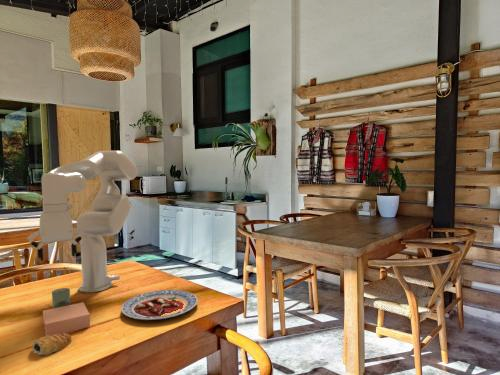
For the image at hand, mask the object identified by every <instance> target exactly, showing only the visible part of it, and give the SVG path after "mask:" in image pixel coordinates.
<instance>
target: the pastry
mask: <svg viewBox="0 0 500 375" xmlns="http://www.w3.org/2000/svg"><path fill="white" fill-rule="evenodd" d="M71 342H72V336H71V335H70V333H68V332H66V333H62V334H53V335H45V336H40V337H39V338H38V339H35V340H34V342H33V344H32V347H31V349H32V350H33V353H34V354H37V355H39V356H48V355H51V354H52V353H56V352H58V351H60V350H61V349H64V348H65V347H66V346H68V345H70V343H71Z"/></svg>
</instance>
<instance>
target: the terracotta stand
mask: <svg viewBox="0 0 500 375" xmlns="http://www.w3.org/2000/svg"><path fill="white" fill-rule="evenodd" d="M90 315H91V314H90V312H89V310H88V309H87V306H86V305H85V302H84V301H83V302H82V301H81V302H79V303H73V304H71V305H68V306H63V307H58V308H53V307H52V308H50V309H45V310H42V319H43V322H42V323H43V327H44V332H45V336H46V335H53V334H62V333H71V332H74V331H77V330H82V329H85V328H87V329H88V328H90V327H91V321H90V320H91V318H90Z"/></svg>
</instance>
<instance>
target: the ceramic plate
mask: <svg viewBox="0 0 500 375" xmlns="http://www.w3.org/2000/svg"><path fill="white" fill-rule="evenodd" d="M166 299H169V300H171V301H168V300H166ZM174 299H180V300H182V301H184V302H185V303H186V306H185V308H184V309H182V308H183V305H184V304H183V303H182V302H180V301H176V300H174ZM197 304H198V297H197V296H196V295H195V294H194V293H191V292H189V291H186V290H179V289H166V290H165V289H164V290H154V291H148V292H145V293H141V294H138V295H135V296H134V297H131V298H129V299H128V300H126V301H125V302H124V303H123V304H122V306H121V312H122V314H124V316H126V317H129V318H130V319H131V318H132V319H135V320H144V321H149V320H150V321H151V320H153V321H154V320H162V319H163V320H164V319H168V318H169V319H170V318H174V317H177V316H179V315H183V314H185V313H187V312H189V311H191V310H192V309H193V308H194V307H196V305H197ZM178 309H182V310H181V311H179V312H177V313H173V314H170V315H164V316H161V315H163V314H165V313H171V312H173V311H176V310H178Z"/></svg>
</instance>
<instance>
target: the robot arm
mask: <svg viewBox="0 0 500 375" xmlns="http://www.w3.org/2000/svg"><path fill="white" fill-rule="evenodd" d="M137 175H138V168H137V165H136V164H135V162H134V161H133V160H132V159H131V158H130V157H129V156H128V155H127V154H125V153H124V152H123V151H121V150H99V151H96V152H94V153H92V154H91V155H89V156H87V157H85V158H84V159H81V160H78V161H74V162H71V163H68V164H64V165H61V166H58V167H55V168H54V169H52V170H50V171H48V172H47V173H43V174H42V175H41V196H42V213H40V215H39V228H38V229H39V230H37V231H36V232H33V233H32V234H29V235H28V236H27V237H26V238H27V240H28V242H29V243H30V245H31V246H32V247H34V248H36V249H37V259H40V261H41V262H42V261H43V262H44V249H43V246H45V244H50V243H51V244H52V243H58V242H59V243H60V242H68V241H69V242H71V245H70V246H71V256H72V257H75V256H76V255H75V254H77V245H78V244H79V242H80V258H81V260H80V261H81V277H82V284H79V286H78V291H79V292H81V293H97V292H102V291H106V290H108V289H109V288H111V287H112V286H113V285H112V282H113V281H119V280H120V275H119V274H118V275H117V274H116V275H115V274H112V275H109V274H108V265H107V264H108V262H107V244H106V241H105V239H104V238H103V236H113V235H117V234H119V233H120V232H121V230H122V228H123V226H124V224H125V222H126V220H127V218H128V216H129V214H130V211H131V201H130V198H129V197H128V196H127V195H125V194H121V191H120V188H119V187H118V185H117V184H116V183H115V181H132V180H134V179H135V178H137ZM98 176H99V182H100V189H99V191H98V193H97V194H96V196H95V198H94V199H93V201H92V202H91V206H90V210H91V211H87V212H83V213H81V214H79V216H78V217H77V219H76V227H74V226H73V220H72V214H71V211H69V210H70V209H73V204H69V203H68V194H74V193H75V194H76V193H80V192H82V191H83V190H84V189H85V187H86V185H87V181H91V180H94V179H96V178H97V177H98ZM74 233H76V234H78V236H77V237H76V238H74ZM38 236H39V240H40V241H39V242H38V243H37V242H36V241H35V240H34V239H35V238H36V237H38Z"/></svg>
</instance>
